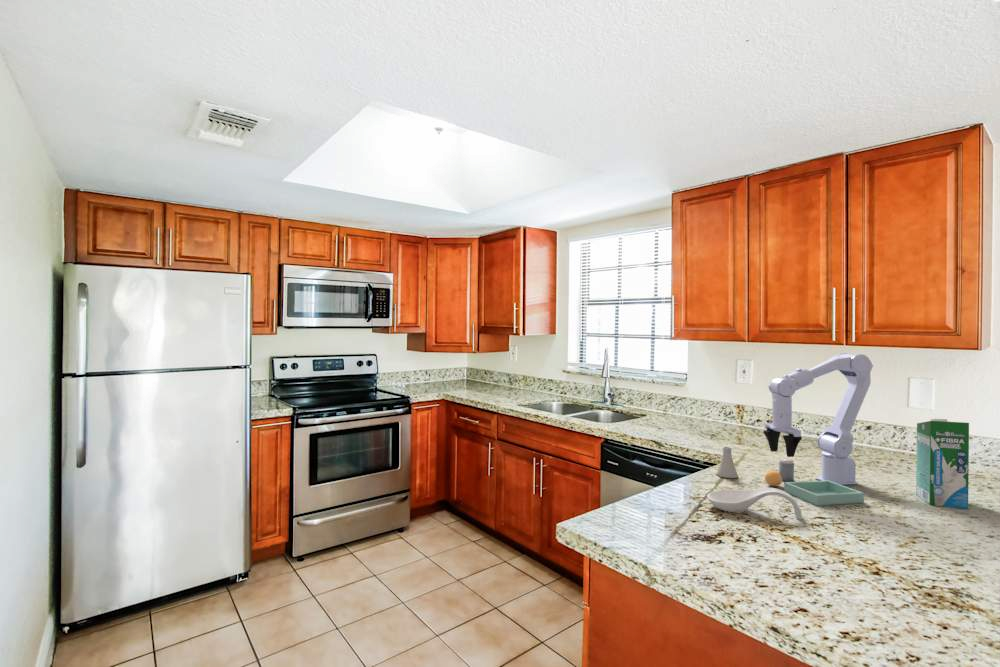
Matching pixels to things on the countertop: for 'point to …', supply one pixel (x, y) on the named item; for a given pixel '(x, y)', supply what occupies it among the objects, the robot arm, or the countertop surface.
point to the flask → (727, 465)
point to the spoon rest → (747, 499)
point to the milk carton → (943, 463)
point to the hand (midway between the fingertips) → (782, 453)
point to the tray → (823, 492)
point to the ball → (773, 478)
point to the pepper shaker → (786, 470)
